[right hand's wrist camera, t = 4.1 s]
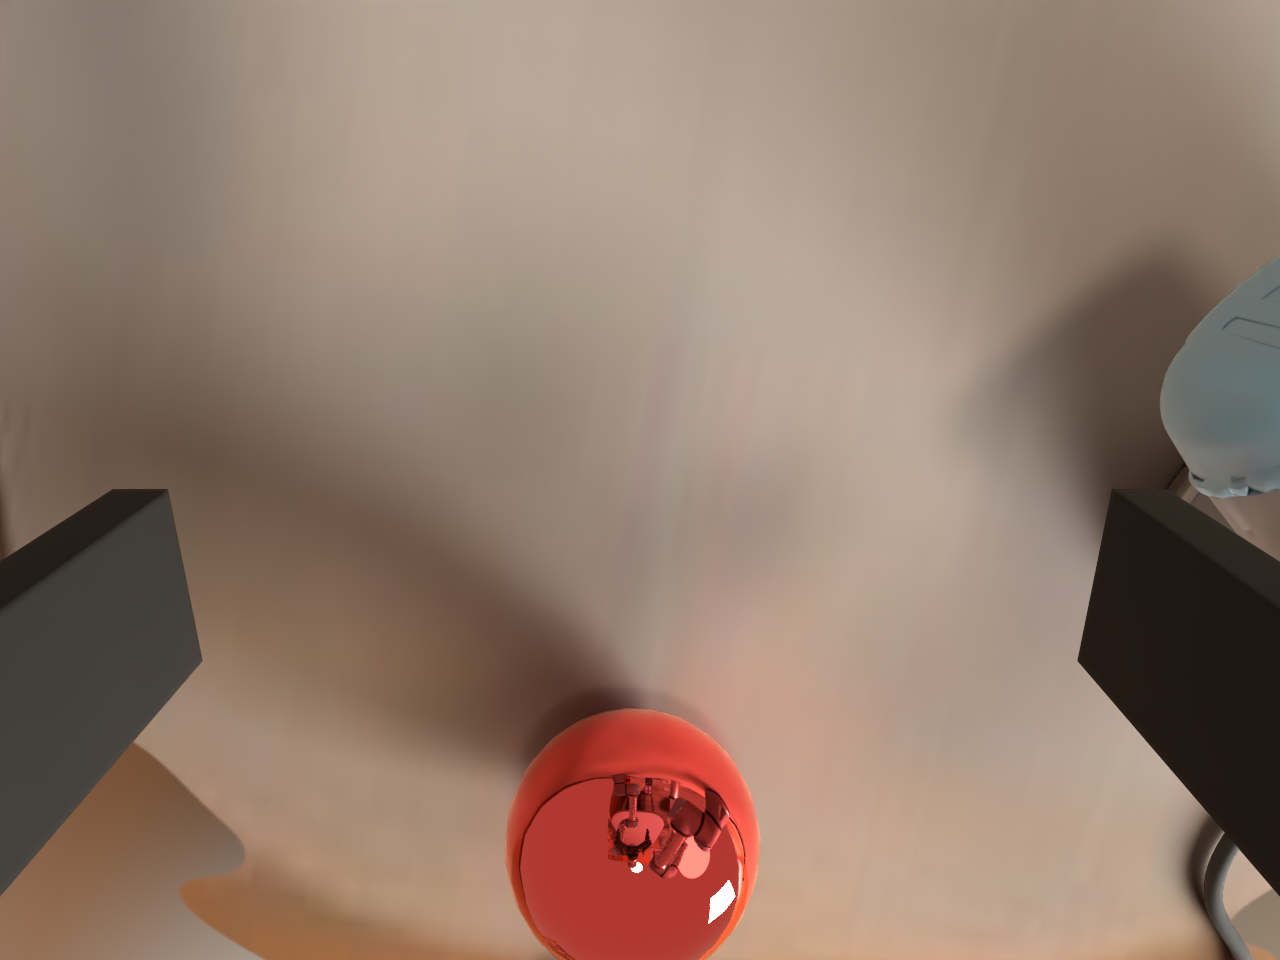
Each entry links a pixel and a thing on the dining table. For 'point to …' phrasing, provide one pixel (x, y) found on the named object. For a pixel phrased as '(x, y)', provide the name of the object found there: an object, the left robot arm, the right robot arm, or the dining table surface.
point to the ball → (632, 840)
